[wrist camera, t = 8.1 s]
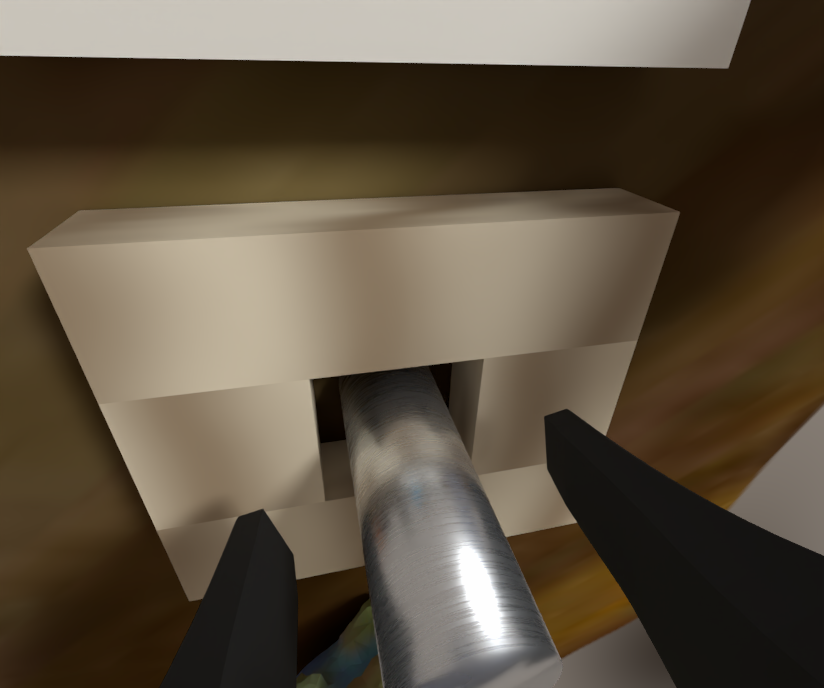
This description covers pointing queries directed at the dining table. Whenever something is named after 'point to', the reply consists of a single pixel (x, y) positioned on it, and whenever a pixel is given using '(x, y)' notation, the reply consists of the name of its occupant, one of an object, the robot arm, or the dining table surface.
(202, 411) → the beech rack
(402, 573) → the steel peg
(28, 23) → the socket block
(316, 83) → the dining table surface
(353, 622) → the decorative rock
